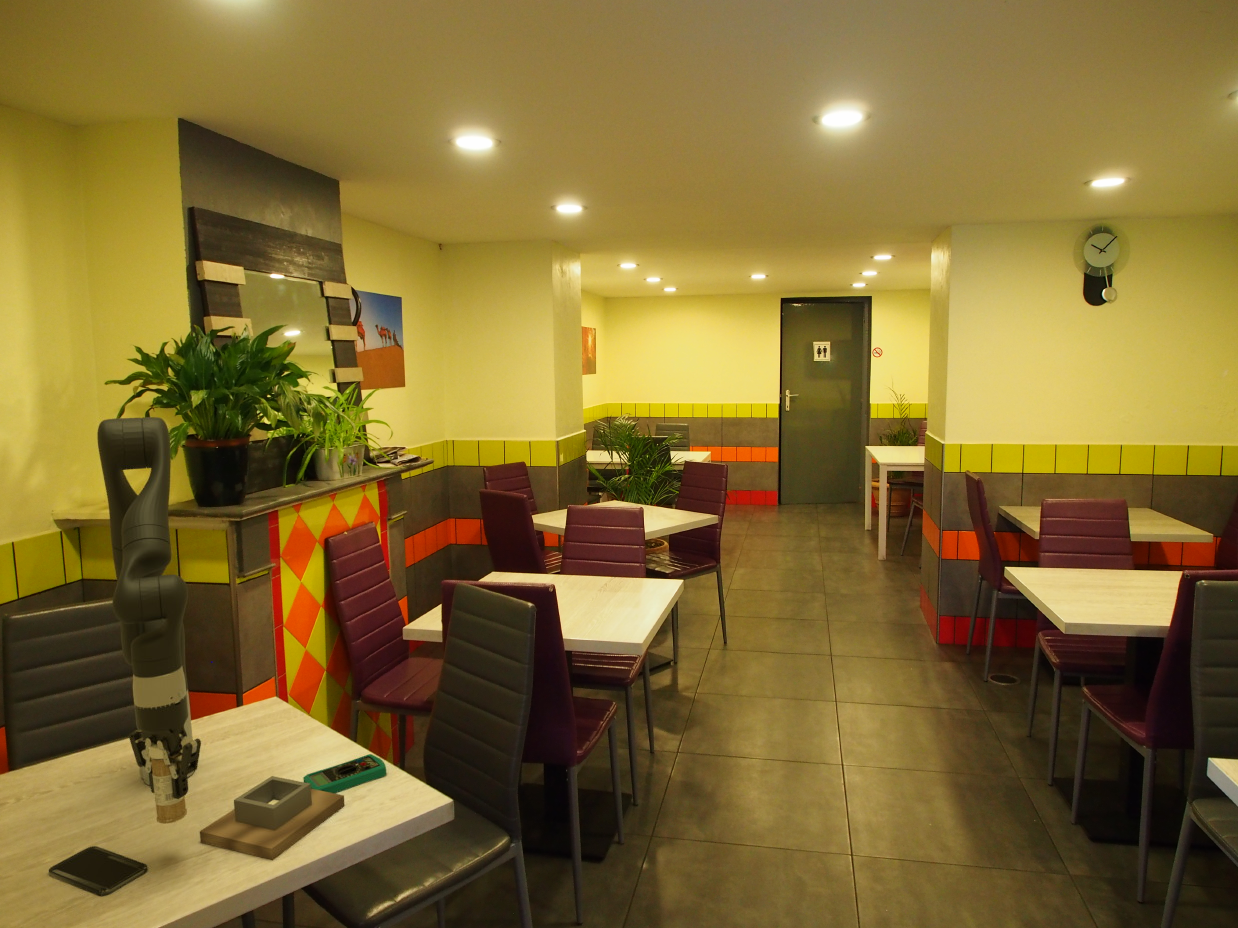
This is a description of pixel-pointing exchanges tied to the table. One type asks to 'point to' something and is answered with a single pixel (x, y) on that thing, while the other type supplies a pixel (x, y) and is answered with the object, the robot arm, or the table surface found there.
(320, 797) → the socket board
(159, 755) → the sprinkles bottle
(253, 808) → the socket sleeve
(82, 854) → the phone
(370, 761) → the digital multimeter
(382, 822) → the table surface
